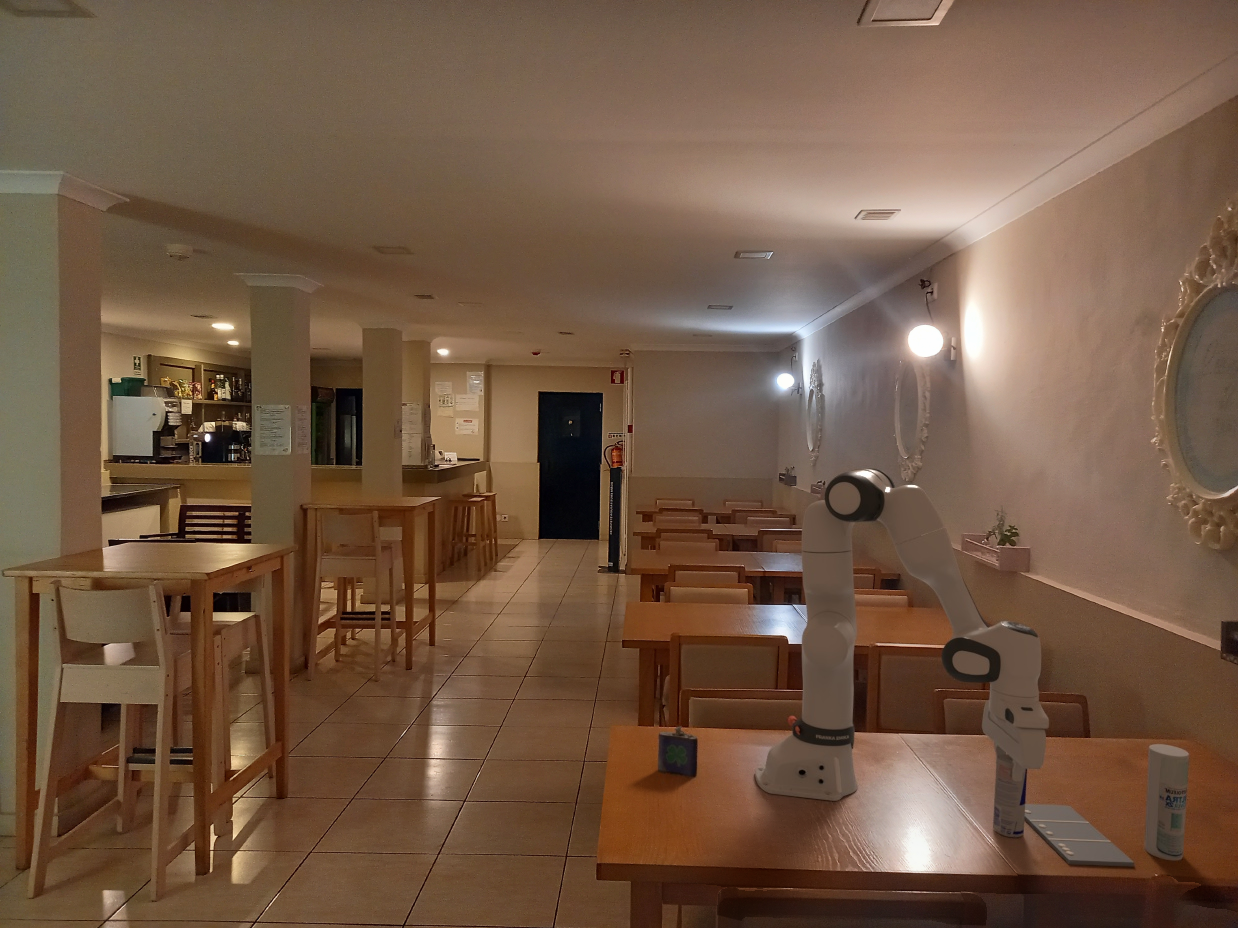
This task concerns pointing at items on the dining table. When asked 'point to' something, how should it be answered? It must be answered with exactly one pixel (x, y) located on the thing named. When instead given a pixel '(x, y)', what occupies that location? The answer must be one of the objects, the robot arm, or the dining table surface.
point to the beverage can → (1009, 799)
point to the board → (1073, 836)
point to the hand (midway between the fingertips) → (1008, 772)
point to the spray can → (1166, 801)
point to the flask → (677, 753)
